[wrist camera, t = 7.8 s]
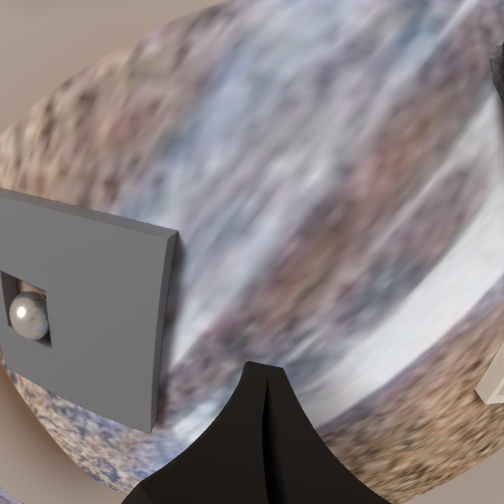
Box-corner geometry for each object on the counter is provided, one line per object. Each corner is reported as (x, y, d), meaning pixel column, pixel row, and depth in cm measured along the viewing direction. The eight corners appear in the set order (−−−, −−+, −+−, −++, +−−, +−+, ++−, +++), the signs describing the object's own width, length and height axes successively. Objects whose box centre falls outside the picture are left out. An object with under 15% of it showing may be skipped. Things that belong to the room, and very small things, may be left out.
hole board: (156, 418, 24) (150, 434, 22) (16, 356, 24) (6, 366, 22) (177, 230, 19) (167, 239, 17) (-1, 187, 18) (-17, 191, 16)
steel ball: (21, 355, 17) (4, 322, 19) (59, 343, 21) (39, 313, 22) (19, 318, 16) (2, 285, 17) (62, 307, 20) (42, 277, 21)
